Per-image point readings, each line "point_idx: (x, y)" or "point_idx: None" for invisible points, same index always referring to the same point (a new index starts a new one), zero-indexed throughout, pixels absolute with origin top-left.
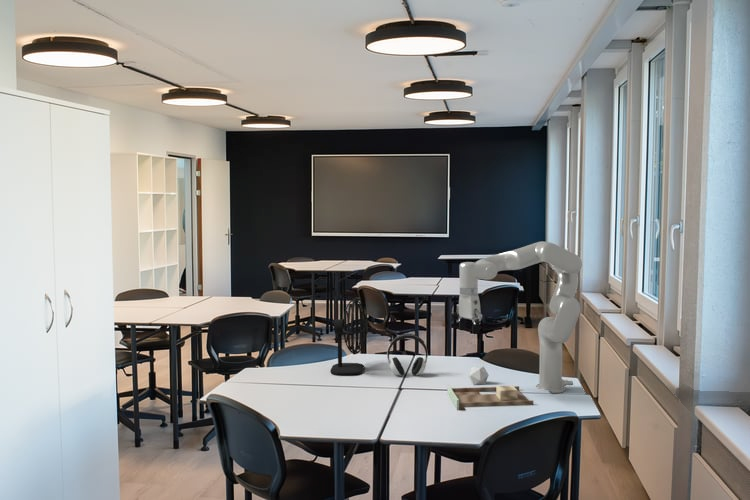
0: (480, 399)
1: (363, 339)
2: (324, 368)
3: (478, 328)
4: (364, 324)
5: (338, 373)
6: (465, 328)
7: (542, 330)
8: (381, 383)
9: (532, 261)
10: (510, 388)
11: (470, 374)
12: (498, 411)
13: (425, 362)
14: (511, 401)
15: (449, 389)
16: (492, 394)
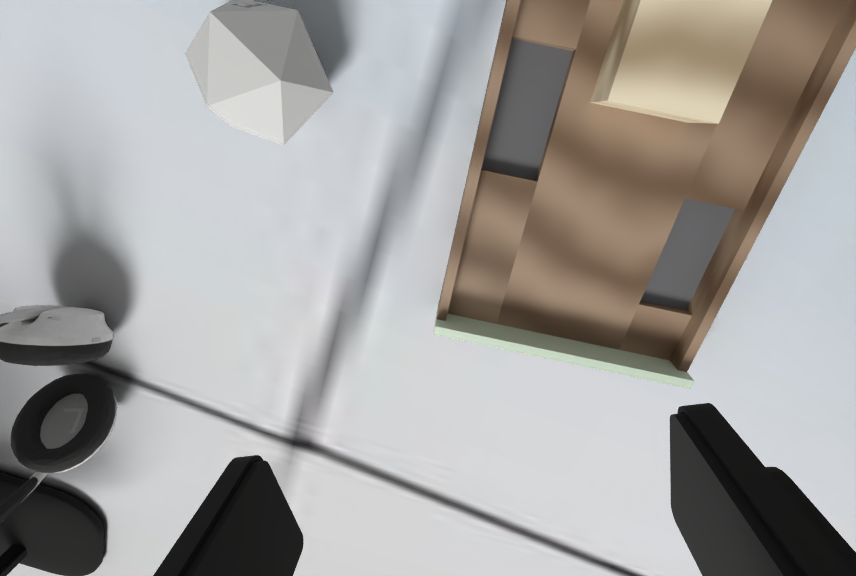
0: (620, 223)
1: None
2: None
3: (828, 532)
4: None
5: (99, 563)
6: (261, 476)
7: None
8: (217, 476)
9: None
10: (712, 25)
11: (276, 141)
12: (797, 198)
13: (34, 314)
14: (824, 101)
15: (492, 344)
16: (564, 117)
